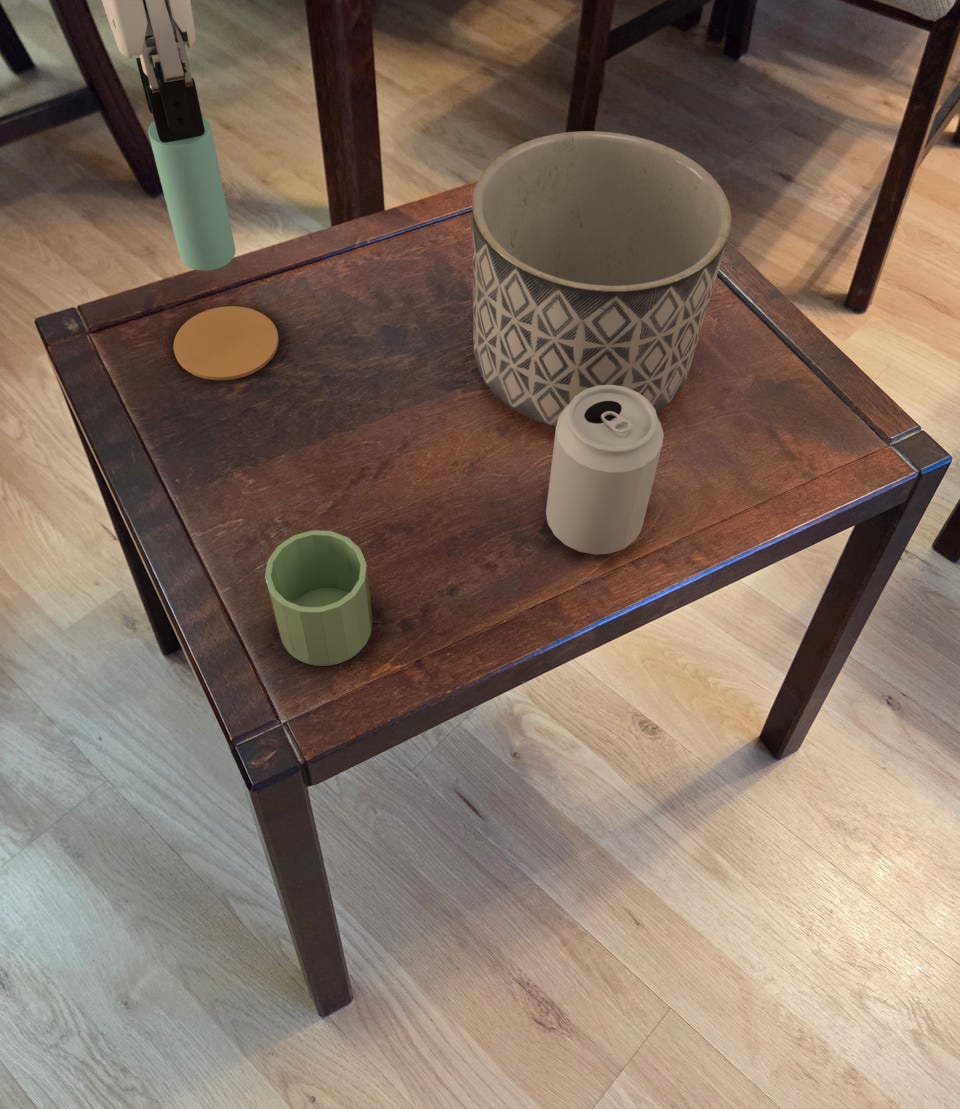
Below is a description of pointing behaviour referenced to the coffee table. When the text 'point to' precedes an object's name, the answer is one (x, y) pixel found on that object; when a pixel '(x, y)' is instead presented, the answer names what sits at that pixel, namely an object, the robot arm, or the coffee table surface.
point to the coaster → (226, 343)
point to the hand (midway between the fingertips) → (176, 120)
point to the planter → (592, 268)
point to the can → (603, 469)
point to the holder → (320, 597)
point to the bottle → (194, 197)
